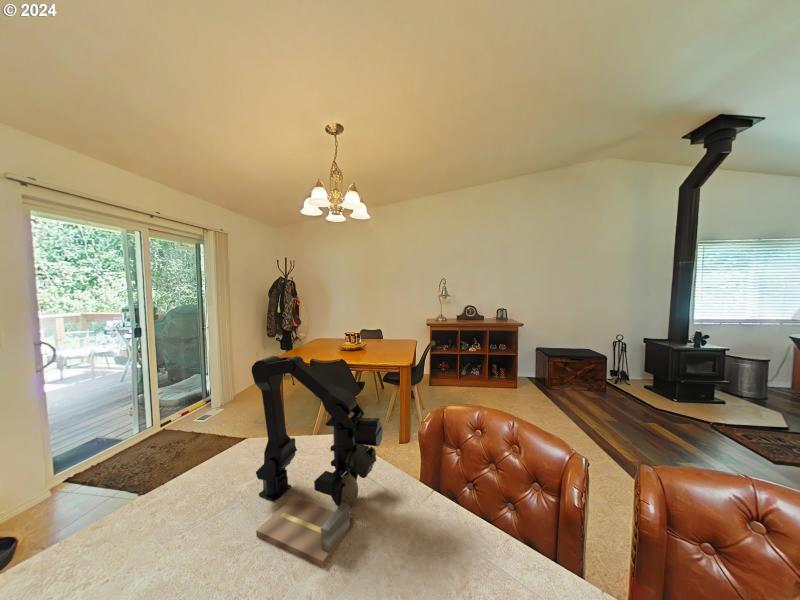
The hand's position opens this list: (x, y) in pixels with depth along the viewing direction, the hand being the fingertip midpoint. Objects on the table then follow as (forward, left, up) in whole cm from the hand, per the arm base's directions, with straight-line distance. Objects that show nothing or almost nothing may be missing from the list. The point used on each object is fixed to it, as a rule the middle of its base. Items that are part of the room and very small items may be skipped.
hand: (345, 496), depth 78 cm
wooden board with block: (-4, -11, -2) cm, 12 cm away
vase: (0, 0, -2) cm, 2 cm away
